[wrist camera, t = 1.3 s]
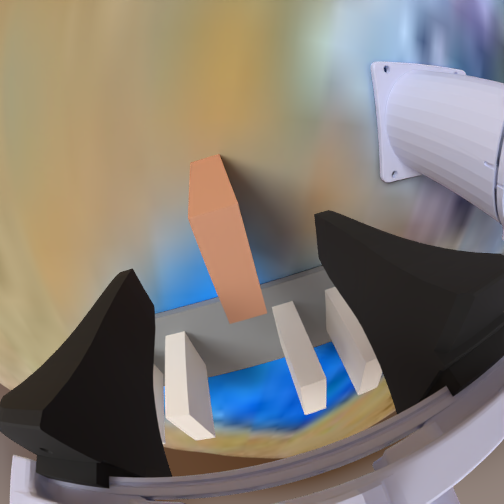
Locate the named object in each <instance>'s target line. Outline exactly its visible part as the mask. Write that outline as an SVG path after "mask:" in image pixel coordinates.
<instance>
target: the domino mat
mask: <svg viewBox="0 0 504 504" xmlns="http://www.w3.org/2000/svg"><path fill="white" fill-rule="evenodd" d="M333 287H335V286H334V284H333V283H332V281H331V280H330V278H329V277H328V275H327V273H326V271H325V269H324V267H323V265H322V266H319V267H316V268H313V269H310V270H307V271H304V272H300V273H297V274H294V275H291V276H287V277H284V278H281V279H278V280H274V281H271V282H268V283H264V284H261V285H260V288H261V291H262V295H263V299H264V303H265V306H266V310H267V314H263V315H260V316H256V317H253V318H250V319H246V320H243V321H239V322H235V323H232V324H230V323H229V321H228V318H227V316H226V313H225V311H224V309H223V306H222V304H221V301H220V299H219V297H216V298H213V299H209V300H205V301H202V302H198V303H195V304H191V305H187V306H184V307H180V308H176V309H172V310H169V311H165V312H161V313H157V314H155V326H156V330H155V347H154V364H155V365H156V367H157V368H158V369H159V370H160V371H161V372H162V373H163V386H165V336H167V335H171V334H176V333H180V332H184V331H185V333H186V335H187V336H188V338H189V339H190V341H191V343H192V344H193V346H194V347H195V349H196V351H197V352H198V354H199V355H200V357H201V358H202V360H203V361H204V363H205V365H206V369H207V377H212V376H217V375H221V374H225V373H229V372H233V371H237V370H241V369H245V368H248V367H252V366H256V365H259V364H263V363H266V362H270V361H273V360H276V359H280V358H283V357H285V355H284V352H283V349H282V346H281V343H280V339H279V335H278V331H277V326H276V322H275V318H274V314H273V310H272V307H274V306H277V305H280V304H284V303H287V302H290V301H293V303H294V305H295V308H296V310H297V312H298V314H299V317H300V319H301V321H302V324H303V326H304V328H305V330H306V333H307V335H308V337H309V339H310V342H311V344H312V346H313V348H314V347H317V346H319V345H322V344H325V343H328V342H331V341H332V340H331V338H330V336H329V334H328V332H327V330H326V303H325V290H327V289H330V288H333Z"/></svg>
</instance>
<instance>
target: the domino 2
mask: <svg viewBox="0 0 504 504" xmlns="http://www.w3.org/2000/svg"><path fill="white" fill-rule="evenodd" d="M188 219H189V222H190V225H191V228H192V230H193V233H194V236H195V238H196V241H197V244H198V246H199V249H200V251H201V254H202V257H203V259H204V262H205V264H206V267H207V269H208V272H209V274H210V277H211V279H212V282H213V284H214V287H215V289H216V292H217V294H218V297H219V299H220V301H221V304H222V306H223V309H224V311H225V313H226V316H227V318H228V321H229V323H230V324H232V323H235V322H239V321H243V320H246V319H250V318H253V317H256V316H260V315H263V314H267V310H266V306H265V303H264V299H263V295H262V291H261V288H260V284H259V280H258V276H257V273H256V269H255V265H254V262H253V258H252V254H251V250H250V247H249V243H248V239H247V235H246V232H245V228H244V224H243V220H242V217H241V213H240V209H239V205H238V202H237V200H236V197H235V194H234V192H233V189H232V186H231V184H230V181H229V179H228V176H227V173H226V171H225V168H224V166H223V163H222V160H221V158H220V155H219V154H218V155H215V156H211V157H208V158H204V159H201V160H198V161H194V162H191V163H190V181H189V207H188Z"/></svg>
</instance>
